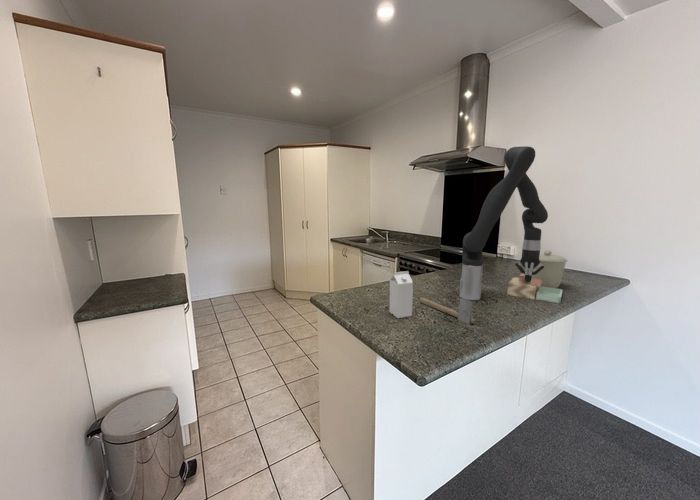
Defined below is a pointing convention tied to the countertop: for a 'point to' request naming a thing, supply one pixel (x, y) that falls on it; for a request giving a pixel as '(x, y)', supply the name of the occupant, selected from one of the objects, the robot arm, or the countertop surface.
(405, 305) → the milk carton
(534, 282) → the terracotta tile
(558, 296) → the bin
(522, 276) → the terracotta tile
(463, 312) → the long-handled mallet
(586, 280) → the countertop surface
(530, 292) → the zigzag patterned block
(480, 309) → the countertop surface
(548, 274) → the canister
